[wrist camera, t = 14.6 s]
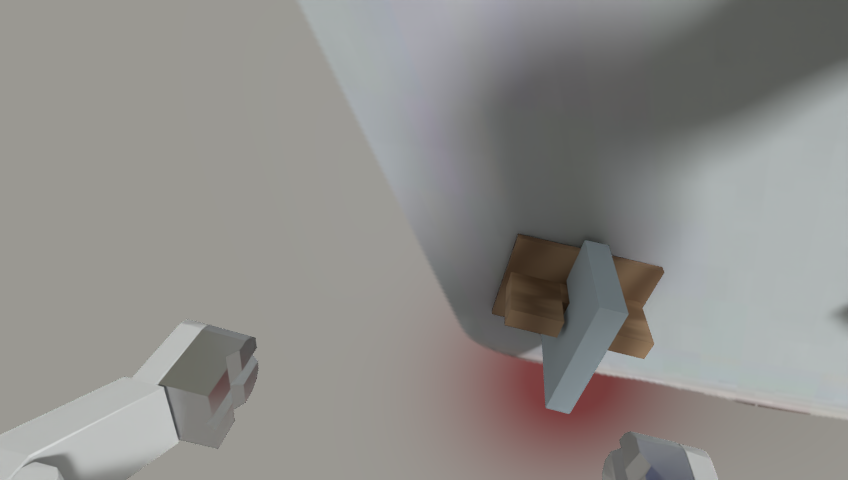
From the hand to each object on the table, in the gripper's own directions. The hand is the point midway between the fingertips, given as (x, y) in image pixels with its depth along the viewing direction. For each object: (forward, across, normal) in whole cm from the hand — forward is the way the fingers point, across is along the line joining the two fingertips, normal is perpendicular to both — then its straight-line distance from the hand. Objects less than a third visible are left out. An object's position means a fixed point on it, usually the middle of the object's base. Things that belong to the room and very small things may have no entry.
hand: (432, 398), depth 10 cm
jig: (+34, -14, +22) cm, 43 cm away
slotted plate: (+33, -14, +22) cm, 42 cm away
